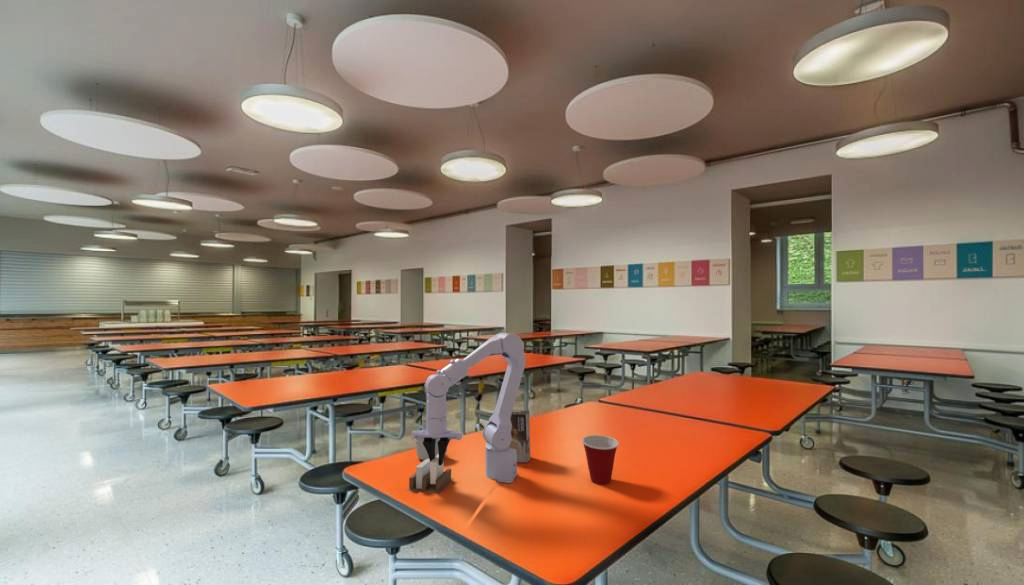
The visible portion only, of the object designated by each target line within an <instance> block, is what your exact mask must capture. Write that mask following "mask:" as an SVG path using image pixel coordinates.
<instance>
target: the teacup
mask: <svg viewBox="0 0 1024 585" xmlns="http://www.w3.org/2000/svg"><path fill="white" fill-rule="evenodd" d="M439 440H440V439H436V443H435V457H436V456H437V454H439V451H438V444H437V442H438V441H439ZM414 441H415V449H416V450H415V451H416V455H417V457H418V459H420V460H421V461H424V460H426V459H429V456H428V453H427V451H426V449H425V447H424V445H423V441H424V439H420V438H416V439H414ZM447 451H448V448H447V449H446V451H445V455H446V454H447Z"/></svg>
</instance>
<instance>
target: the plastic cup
mask: <svg viewBox="0 0 1024 585" xmlns="http://www.w3.org/2000/svg"><path fill="white" fill-rule="evenodd" d="M581 442H582V445H583V447H584V452H585V455H586V462H587V467H588V472H589V476H590V481H591V483H593V484H596V485H597V484H598V485H608V484H611V481H612V476H613V470H614V464H615V463H614V462H615V458H616V457H615V456H616V452H617V449H618V446H620V445H619V444H620V442H619V440H617V439H616V438H614V437H611V436H607V435H602V434H591V435H585V436H584V437H583V438H581Z"/></svg>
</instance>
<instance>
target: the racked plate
mask: <svg viewBox="0 0 1024 585" xmlns="http://www.w3.org/2000/svg"><path fill="white" fill-rule="evenodd" d="M415 473H416V488H417V489H422V479H423V478H424V477H425V476H426V475H427V474H429V473H430V459H426V460H422V462H420V463H419V464H418V465H417V466H415Z"/></svg>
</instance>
